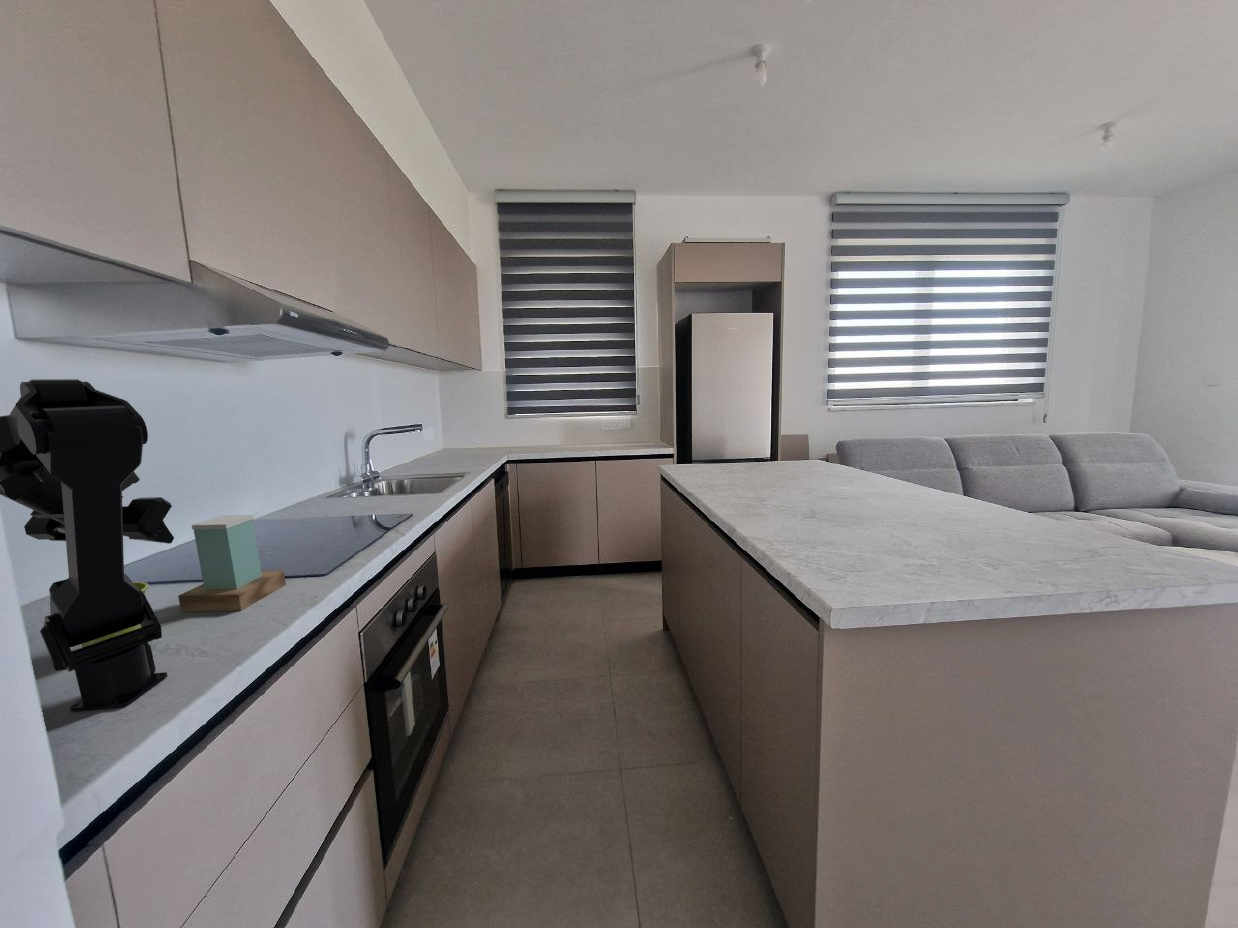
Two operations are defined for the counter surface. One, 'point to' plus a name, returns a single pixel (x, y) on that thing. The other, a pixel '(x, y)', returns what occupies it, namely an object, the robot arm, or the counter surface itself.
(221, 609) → the walnut block
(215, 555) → the tea tin
